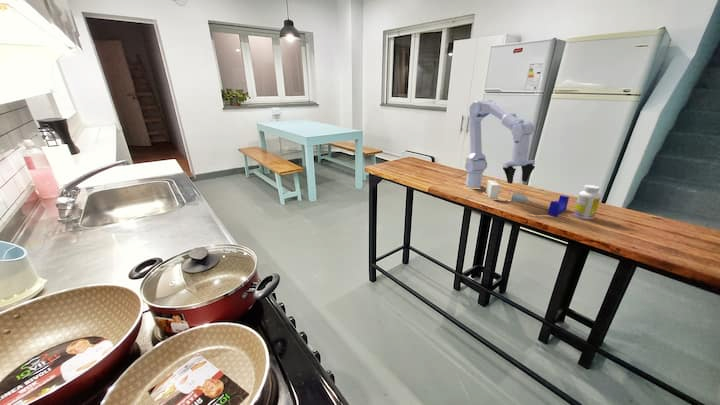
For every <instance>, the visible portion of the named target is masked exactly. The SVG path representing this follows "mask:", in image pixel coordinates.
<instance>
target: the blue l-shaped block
mask: <svg viewBox="0 0 720 405" xmlns="http://www.w3.org/2000/svg"><path fill="white" fill-rule="evenodd" d="M569 199H570V197H569V196H566V195H562V194H561V195H560V196H559V198H558V200H554V201H553V200H551V201H550V204H549V208H548V212H547V214H548V215H549V216H551V217H554V218H557V217H558V216H559V215H561V214H562V213H563V212H565V211H566V210H567V207H568V204H569Z"/></svg>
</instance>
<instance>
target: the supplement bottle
mask: <svg viewBox="0 0 720 405" xmlns="http://www.w3.org/2000/svg"><path fill="white" fill-rule="evenodd" d="M599 191H600V186H597V185H593V184H584V187H583V190H582V191H580V192H579V193H578V197H577V200H576V205H575V208H574V213H573V215H574V216H575V217H576V218H579V219H583V220H593V219H594V218H595V217H596V213H597V209H598V206H599V203H600V199H601V194H600V193H599Z"/></svg>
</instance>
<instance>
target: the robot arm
mask: <svg viewBox="0 0 720 405" xmlns="http://www.w3.org/2000/svg"><path fill="white" fill-rule="evenodd" d="M468 109H469V117H468V123H469V124H468V125H469V126H468V129H469V130H468V131H469V132H468V133H469V148H470V150H469V153H470V154H469V155H468V156H467V157H466V158H465V160H466V161H465V165H464V166H465V171H466V172H467V174H466V180H465V184H466V185H467V186H468V187H471V188H480V187H481V188H482V178H483V174H484V173H485V171H486V169H487V168H488V162H487V158H486V155H485V154H484V153H483V152H482V151H483V148H482V143H483V142H482V123H481V122H482V121H483V120H484V119H485V118H486V117H488V116H489V115H490V114H491V115H492V116H494V117H496V118H497V119H499V121H500V120H501V125H502V126H504V127H505V128H506V129H508V130H510V132H511V134H512V136H513V137H512V139H513V147H512V156H511V161H506V162H503V164H502V169H503V171H504V173H505V176H506V181H507V183H508V184H511V185H512V184H513V182H514V176H515V173H516V170H517V168H515V167H521V171H522V172H521V173H522V174H521V181H522V182H524V183H525V182H528V179H529V178H530V175H531V174H532V172H533V170H534V169H535V163H536V160H534V159H528V157H529V156H528V154H529V145H530V137H531V135H532V134H533V133H534V131H535V127H534V125H533V123H532V122H531V121H526V122H525V119H523V118H519V117H518V116H517V114H516V112H509V113H508V112H505V111H504V109H502V108H501V107H500V106H498V105H497V103H496V102H495V101H493V100H489V99H488V100H474V101H473V102H472V103H471V104H470V105H469V108H468Z"/></svg>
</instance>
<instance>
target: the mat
mask: <svg viewBox="0 0 720 405" xmlns="http://www.w3.org/2000/svg"><path fill="white" fill-rule="evenodd" d="M512 193H513V195H512V198H511V199H512V200H511V201H510V202H509V203H525V204H526V203H528V204H529V203H530V204H532V203H533V202H532V201H531V199H529V198H528V197H527V196H526V195H525V194H524V193H523V192H512Z"/></svg>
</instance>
